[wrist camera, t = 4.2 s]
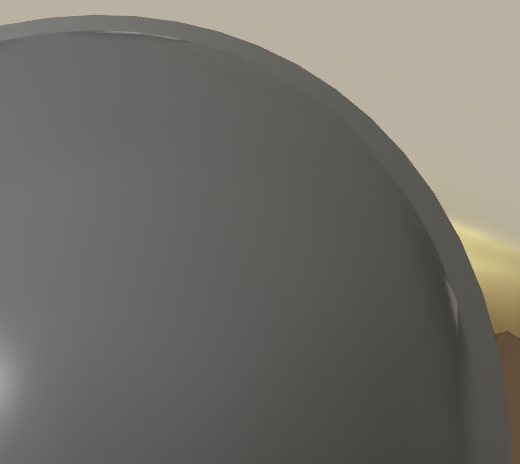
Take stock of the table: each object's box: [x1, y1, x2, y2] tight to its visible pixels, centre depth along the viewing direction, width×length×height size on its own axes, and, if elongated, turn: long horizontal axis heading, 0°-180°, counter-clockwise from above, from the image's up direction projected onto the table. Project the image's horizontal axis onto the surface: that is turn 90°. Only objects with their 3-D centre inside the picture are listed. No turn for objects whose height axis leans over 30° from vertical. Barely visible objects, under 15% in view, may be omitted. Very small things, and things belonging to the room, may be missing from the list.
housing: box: [0, 15, 511, 464], centre depth 9 cm, size 8×8×13 cm
